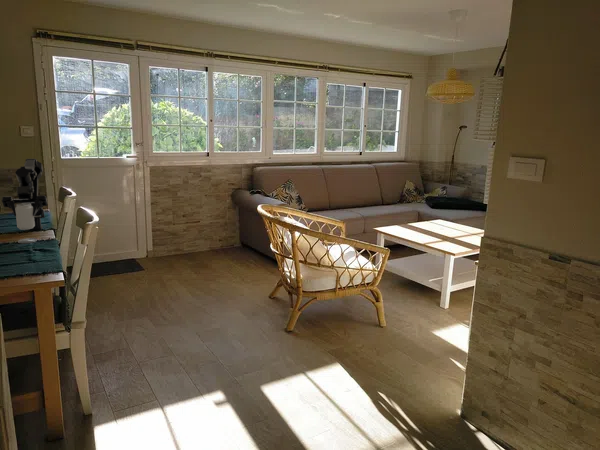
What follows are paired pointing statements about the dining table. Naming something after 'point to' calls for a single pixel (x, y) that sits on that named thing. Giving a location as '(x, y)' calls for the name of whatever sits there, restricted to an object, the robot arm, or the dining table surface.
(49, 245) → the dining table surface
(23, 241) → the coaster
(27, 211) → the can
